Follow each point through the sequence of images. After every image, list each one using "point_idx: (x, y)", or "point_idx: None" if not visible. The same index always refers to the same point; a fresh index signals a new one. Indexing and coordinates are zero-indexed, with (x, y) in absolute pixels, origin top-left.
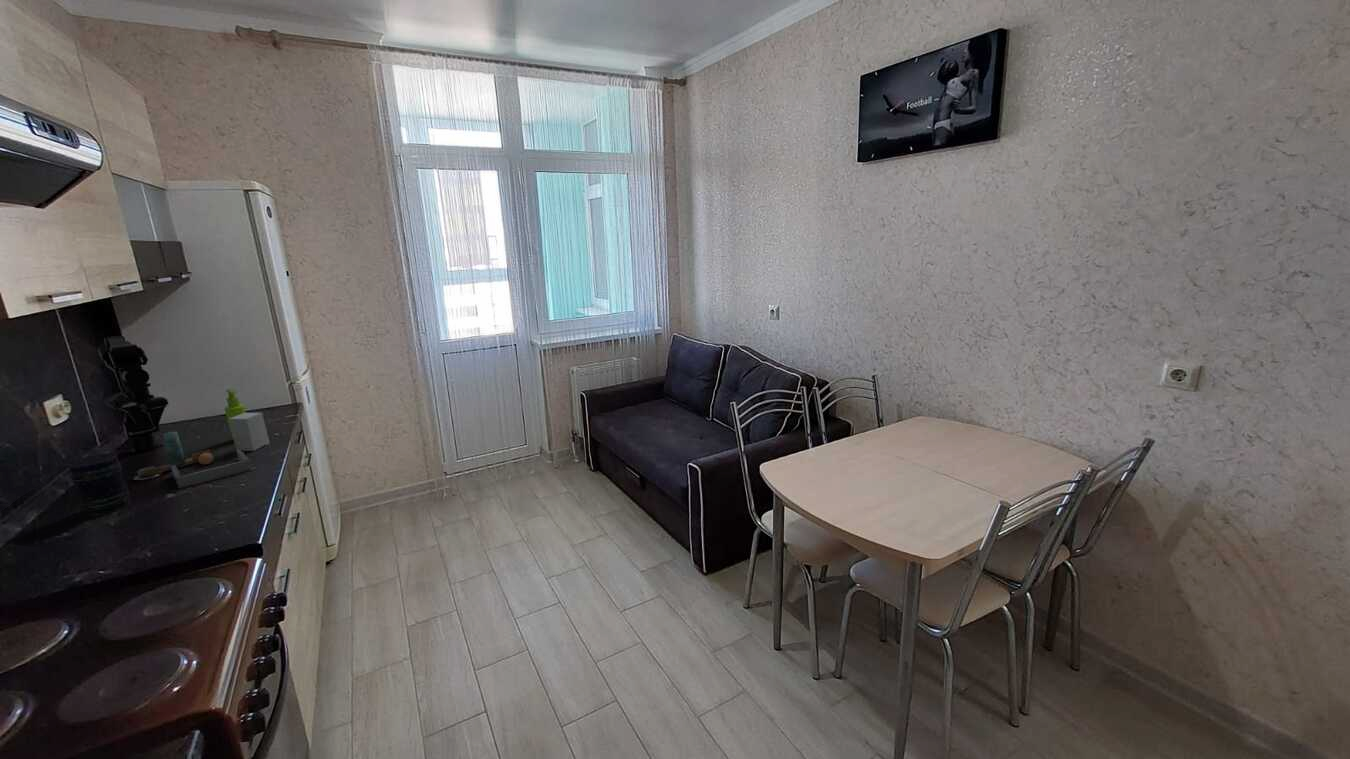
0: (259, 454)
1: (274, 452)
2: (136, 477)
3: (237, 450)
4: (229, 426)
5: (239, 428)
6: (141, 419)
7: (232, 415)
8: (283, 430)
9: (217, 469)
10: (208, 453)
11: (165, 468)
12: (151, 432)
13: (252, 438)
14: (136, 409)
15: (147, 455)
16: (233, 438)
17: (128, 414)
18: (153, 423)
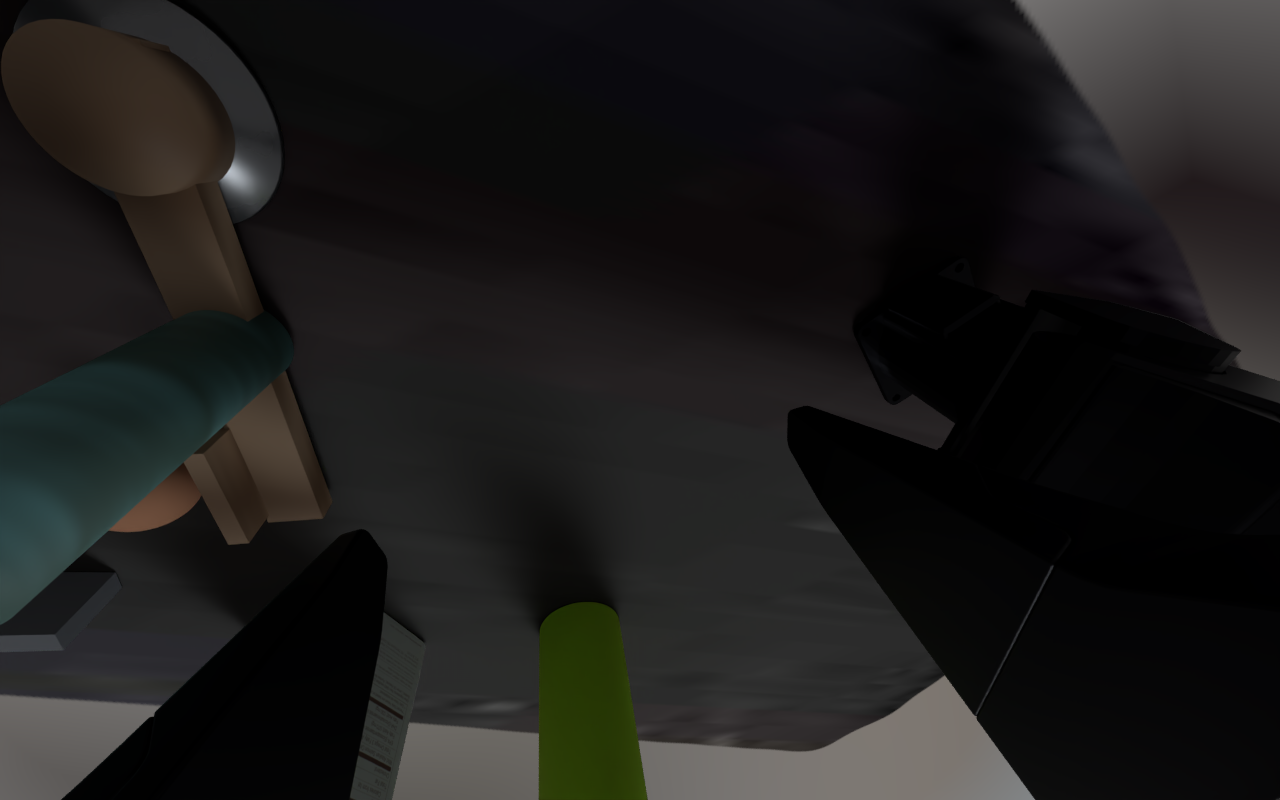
0: (146, 642)
1: (121, 683)
2: (166, 23)
3: (43, 639)
4: (592, 686)
5: None
6: (829, 514)
7: (551, 797)
8: (531, 722)
9: None
10: (110, 529)
11: (149, 253)
12: (955, 425)
13: None
14: (1035, 698)
15: (791, 297)
16: None
17: (1061, 494)
18: (283, 592)
